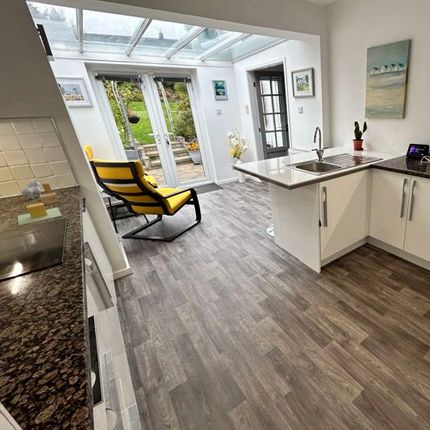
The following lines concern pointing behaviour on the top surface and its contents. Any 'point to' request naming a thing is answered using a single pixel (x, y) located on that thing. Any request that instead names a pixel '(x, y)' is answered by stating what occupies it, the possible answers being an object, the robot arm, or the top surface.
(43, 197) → the base block
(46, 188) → the supplement box
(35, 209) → the top cube
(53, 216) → the mat
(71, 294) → the top surface
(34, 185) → the dog figurine
